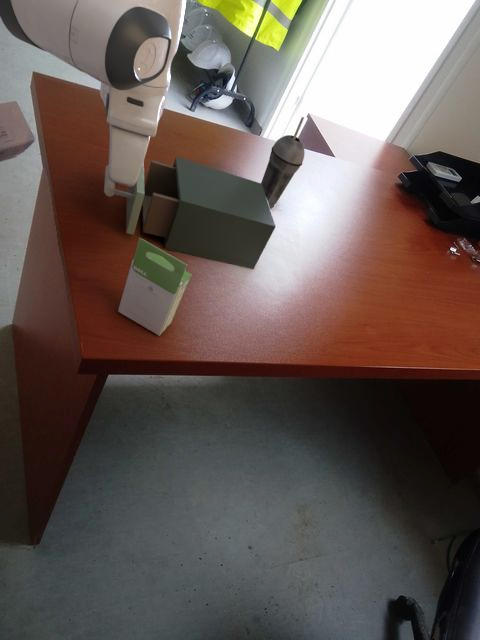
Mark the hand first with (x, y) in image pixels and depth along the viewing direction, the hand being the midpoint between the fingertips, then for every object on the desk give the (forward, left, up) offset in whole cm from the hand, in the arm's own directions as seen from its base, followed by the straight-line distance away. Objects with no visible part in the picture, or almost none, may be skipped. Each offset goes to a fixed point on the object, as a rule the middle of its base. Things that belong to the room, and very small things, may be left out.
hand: (118, 178), depth 74 cm
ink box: (+5, -24, -7) cm, 26 cm away
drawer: (+8, 0, -6) cm, 10 cm away
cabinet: (+17, 0, -7) cm, 19 cm away
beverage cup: (+33, +19, -7) cm, 39 cm away
